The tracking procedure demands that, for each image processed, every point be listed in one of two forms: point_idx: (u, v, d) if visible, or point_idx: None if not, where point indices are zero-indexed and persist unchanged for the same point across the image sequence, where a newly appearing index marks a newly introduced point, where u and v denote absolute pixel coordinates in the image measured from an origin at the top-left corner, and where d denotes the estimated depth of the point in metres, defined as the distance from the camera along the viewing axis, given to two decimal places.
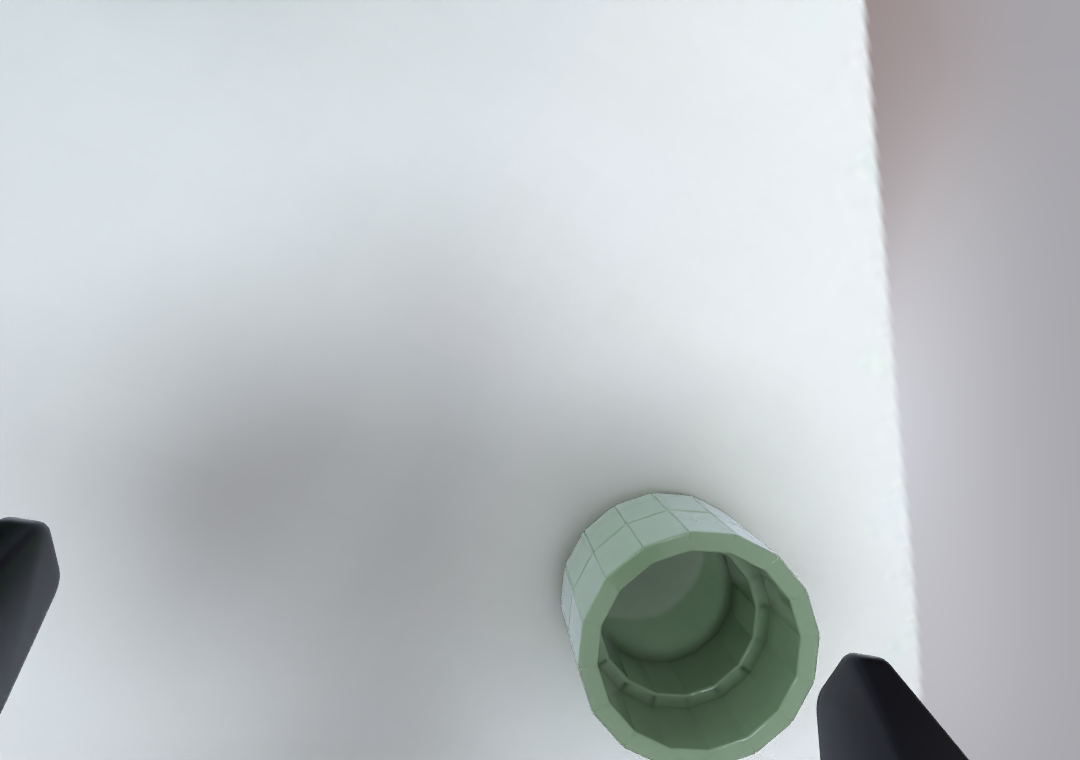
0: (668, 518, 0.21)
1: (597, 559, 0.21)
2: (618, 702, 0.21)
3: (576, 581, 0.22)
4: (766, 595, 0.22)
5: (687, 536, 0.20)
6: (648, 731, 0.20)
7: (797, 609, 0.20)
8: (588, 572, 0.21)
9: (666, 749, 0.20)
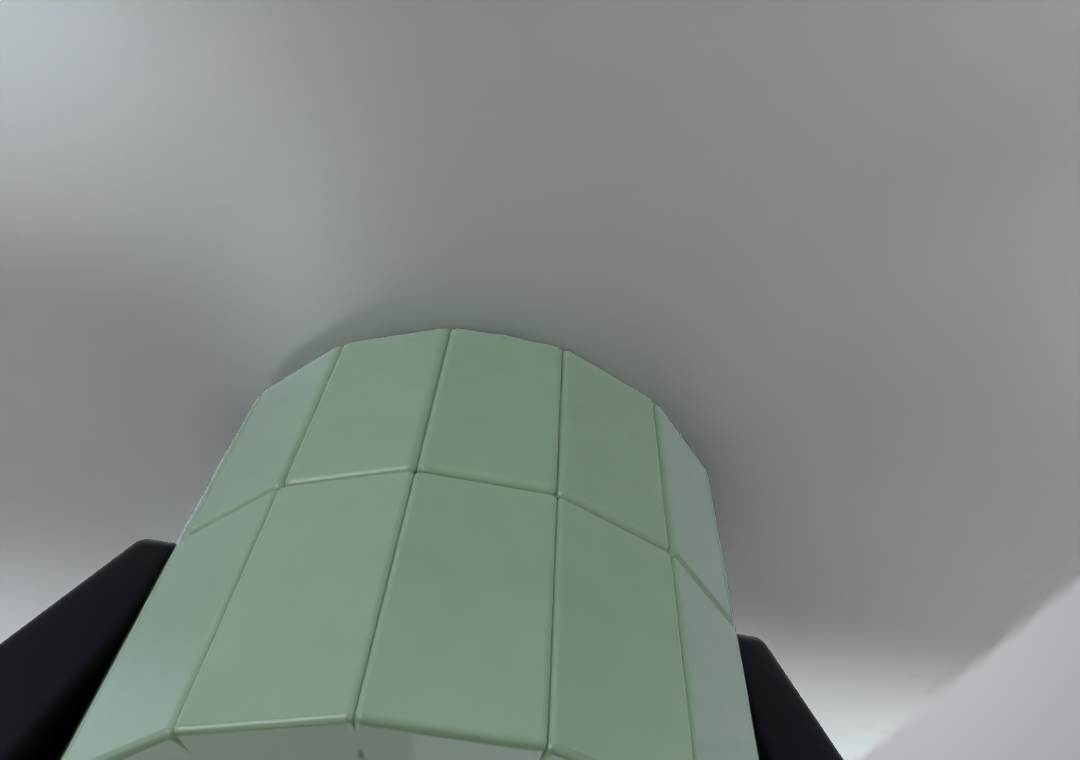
0: (534, 555, 0.06)
1: (254, 546, 0.06)
2: None
3: (205, 518, 0.07)
4: None
5: None
6: None
7: None
8: (216, 557, 0.06)
9: None
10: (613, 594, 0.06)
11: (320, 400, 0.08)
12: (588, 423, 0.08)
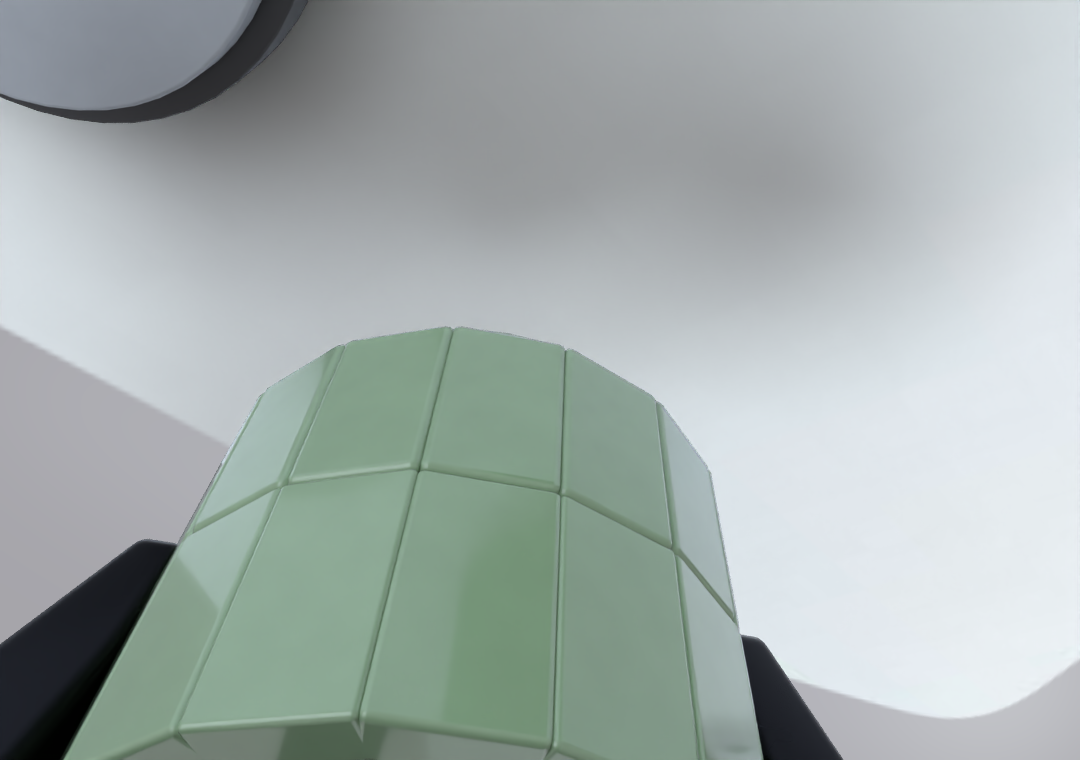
0: (538, 554, 0.06)
1: (257, 545, 0.06)
2: None
3: (208, 517, 0.07)
4: None
5: (538, 759, 0.05)
6: None
7: None
8: (219, 555, 0.06)
9: None
10: (617, 593, 0.06)
11: (323, 398, 0.08)
12: (591, 421, 0.08)
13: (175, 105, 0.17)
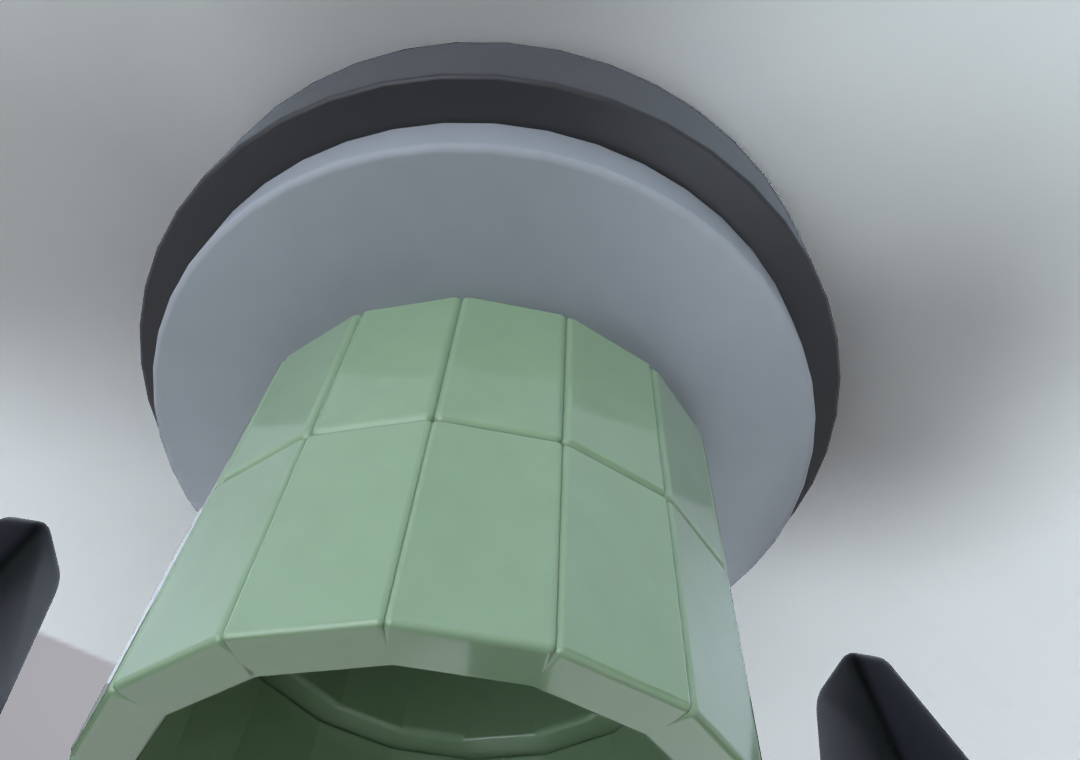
0: (542, 492, 0.07)
1: (287, 485, 0.07)
2: None
3: (238, 467, 0.08)
4: None
5: (543, 661, 0.05)
6: None
7: None
8: (251, 497, 0.07)
9: None
10: (614, 529, 0.07)
11: (342, 361, 0.08)
12: (591, 382, 0.08)
13: None
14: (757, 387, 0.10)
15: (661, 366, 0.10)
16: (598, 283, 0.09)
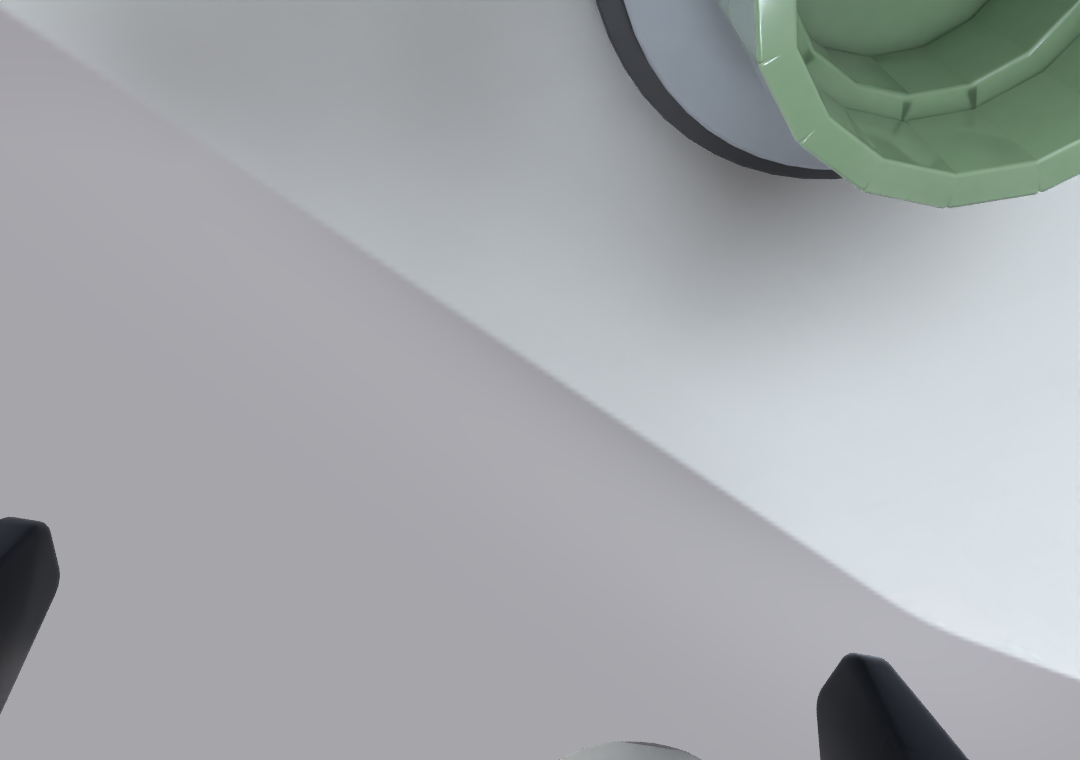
0: None
1: None
2: None
3: None
4: None
5: None
6: (807, 72, 0.10)
7: None
8: None
9: (821, 115, 0.10)
10: None
11: None
12: None
13: None
14: None
15: None
16: None
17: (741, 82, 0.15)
